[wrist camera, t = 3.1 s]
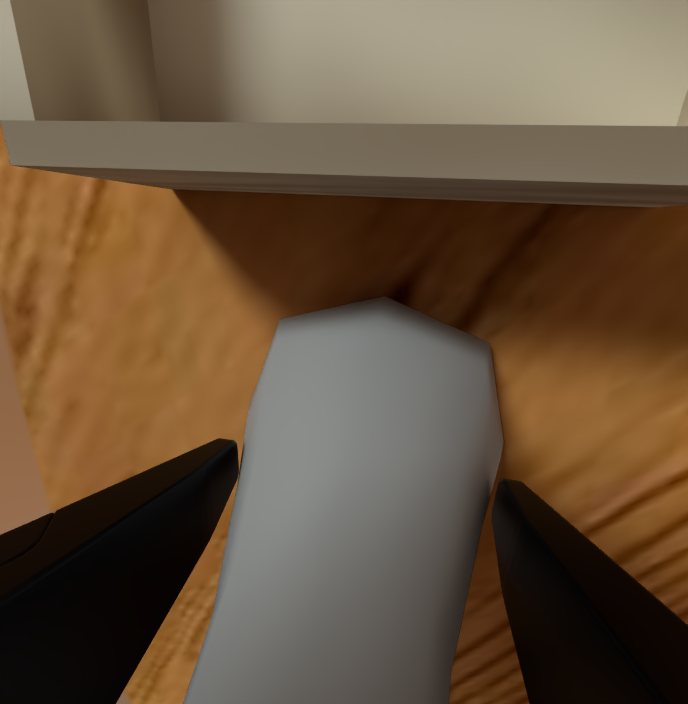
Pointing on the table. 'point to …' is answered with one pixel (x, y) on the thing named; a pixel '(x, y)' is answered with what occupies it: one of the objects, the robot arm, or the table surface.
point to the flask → (354, 512)
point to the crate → (355, 96)
